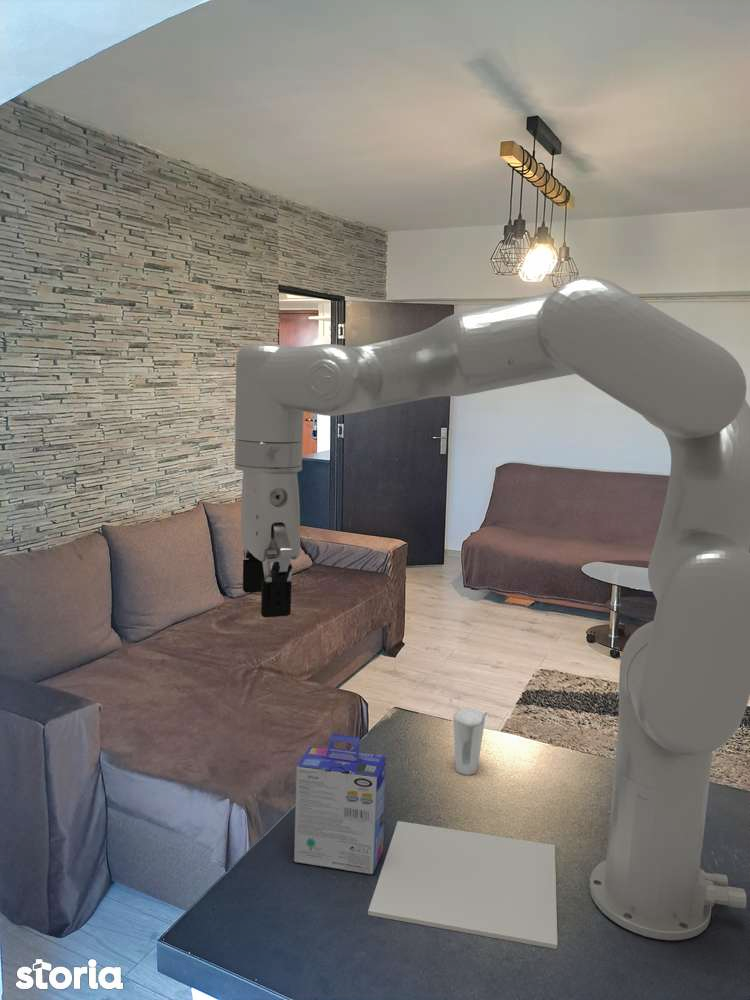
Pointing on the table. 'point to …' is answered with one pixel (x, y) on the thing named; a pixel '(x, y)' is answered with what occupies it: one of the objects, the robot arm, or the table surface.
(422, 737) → the table surface
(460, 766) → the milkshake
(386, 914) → the mat
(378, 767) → the ink cartridge box
